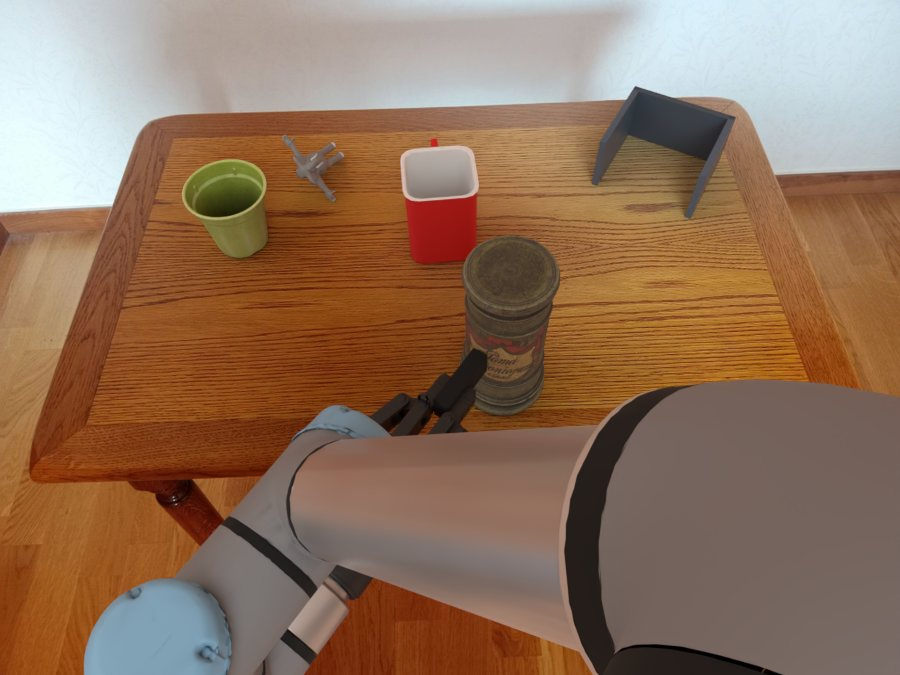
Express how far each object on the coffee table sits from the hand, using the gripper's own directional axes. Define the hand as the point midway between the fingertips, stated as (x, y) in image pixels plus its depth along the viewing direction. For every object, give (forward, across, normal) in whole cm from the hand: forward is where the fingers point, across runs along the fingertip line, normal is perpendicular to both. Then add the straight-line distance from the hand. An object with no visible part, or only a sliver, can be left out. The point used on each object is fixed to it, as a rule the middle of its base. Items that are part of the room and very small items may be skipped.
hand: (480, 359), depth 65 cm
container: (+4, 0, -9) cm, 10 cm away
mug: (+18, -17, -9) cm, 27 cm away
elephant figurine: (+17, -36, -9) cm, 40 cm away
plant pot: (+4, -36, -9) cm, 38 cm away
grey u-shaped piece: (+42, +1, -9) cm, 43 cm away
